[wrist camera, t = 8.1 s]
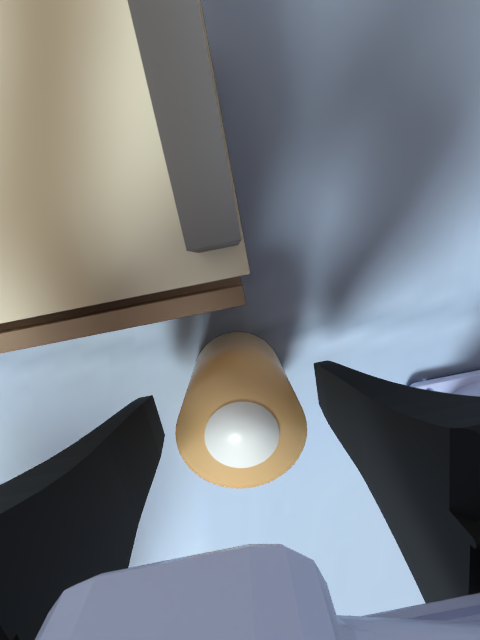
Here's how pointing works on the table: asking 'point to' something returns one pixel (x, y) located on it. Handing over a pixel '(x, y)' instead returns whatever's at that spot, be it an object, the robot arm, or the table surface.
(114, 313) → the wooden box
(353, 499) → the table surface
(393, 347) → the table surface
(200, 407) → the roll-on deodorant
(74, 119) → the lid
